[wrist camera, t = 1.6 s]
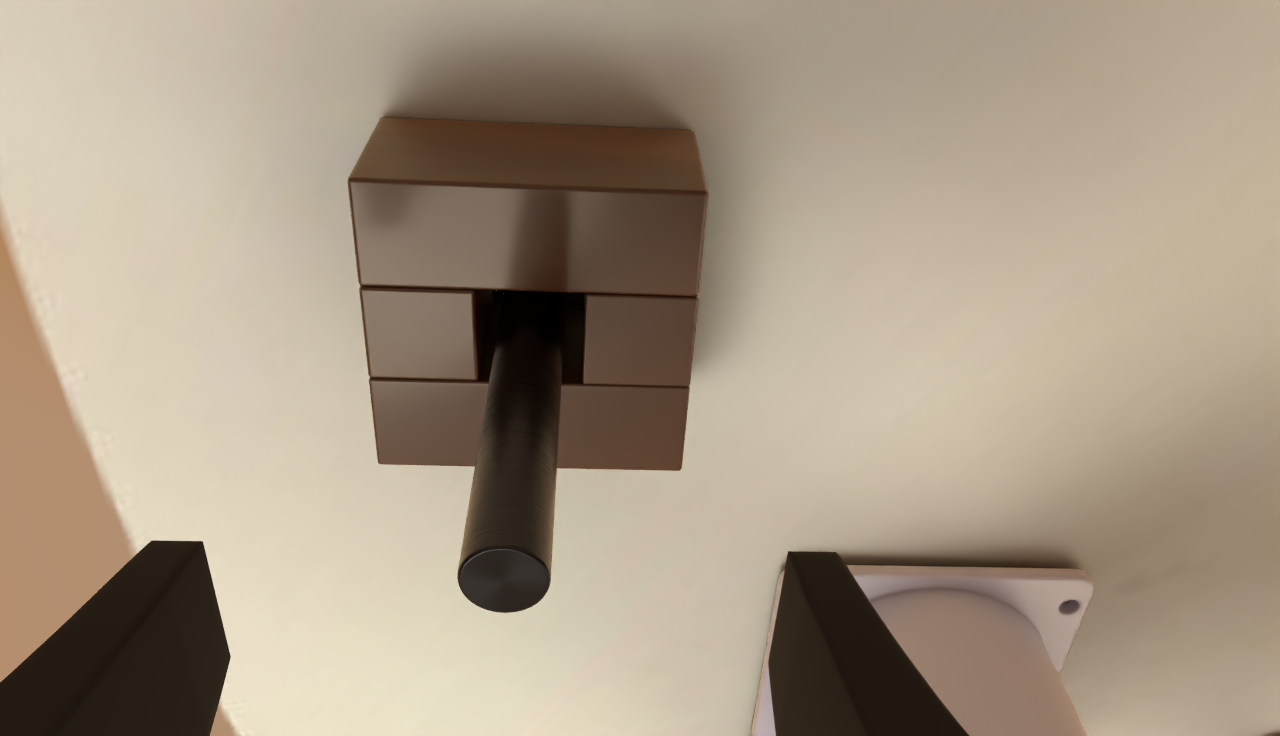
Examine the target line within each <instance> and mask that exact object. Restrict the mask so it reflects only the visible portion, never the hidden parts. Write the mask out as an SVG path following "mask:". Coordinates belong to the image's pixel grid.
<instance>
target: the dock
mask: <svg viewBox="0 0 1280 736" xmlns="http://www.w3.org/2000/svg"><path fill="white" fill-rule="evenodd" d="M348 189H349V199H350V208H351V217H352V226H353V235H354V245H355V254H356V263H357V272H358V281H359V283H360V285H361V286H360V289H359V291H360V300H361V309H362V319H363V328H364V337H365V346H366V355H367V364H368V374H369V376H370V379H369V384H370V394H371V403H372V412H373V421H374V430H375V439H376V449H377V458H378V463H379V464H393V465H440V466H475V465H476V458H477V452H478V446H479V440H480V434H481V428H482V422H483V416H484V410H485V404H486V398H487V391H488V385H489V379H490V373H491V367H492V361H493V355H494V349H495V343H496V337H497V330H498V324H499V318H500V312H501V306H502V303H492V301H493V299H492V290H512V291H544V292H575V293H585V297H584V306H568V305H566V313H565V331H564V348H563V366H562V384H561V402H560V420H559V438H558V455H557V468H579V469H625V470H671V471H679V470H681V468H682V461H683V451H684V440H685V430H686V420H687V410H688V400H689V389H690V388H689V385H690V380H691V370H692V360H693V349H694V339H695V329H696V319H697V309H698V293H699V286H700V276H701V266H702V256H703V245H704V235H705V225H706V215H707V205H708V190H707V186H706V181H705V177H704V172H703V168H702V164H701V159H700V155H699V150H698V146H697V141H696V137H695V133H694V131H692V130H677V129H652V128H628V127H604V126H580V125H555V124H531V123H507V122H483V121H459V120H434V119H410V118H386V117H383V118H380V120H379V122H378V124H377V126H376V128H375V130H374V131H373V133H372V135H371V137H370V139H369V141H368V143H367V144H366V146H365V148H364V150H363V152H362V154H361V156H360V158H359V159H358V161H357V163H356V165H355V167H354V169H353V171H352V173H351V174H350V176H349V178H348Z"/></svg>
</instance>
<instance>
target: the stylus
mask: <svg viewBox="0 0 1280 736" xmlns="http://www.w3.org/2000/svg"><path fill="white" fill-rule="evenodd" d="M566 295H567V292H544V291H512V290H504V294H503V300H502V306H501V312H500V318H499V324H498V330H497V337H496V343H495V349H494V355H493V361H492V367H491V373H490V379H489V385H488V391H487V398H486V404H485V410H484V416H483V422H482V428H481V434H480V440H479V446H478V452H477V458H476V465H475V471H474V477H473V483H472V489H471V495H470V501H469V507H468V513H467V519H466V526H465V532H464V538H463V544H462V550H461V556H460V562H459V568H458V577H457V578H458V583H459V586H460V589H461V591H462V592H463V594H464V595H465V596H466V597H467V598H468V599H469V600H470V601H471V602H472V603H474V604H475V605H477V606H479V607H481V608H483V609H486V610H490V611H494V612H503V613H508V612H517V611H521V610H525V609H527V608H530V607H532V606H533V605H535V604H536V603H538V602H539V601H540V600H541V599H542V598H543V597H544V595H545V594H546V593H547V591H548V589H549V586H550V580H551V562H552V544H553V527H554V509H555V491H556V473H557V455H558V438H559V420H560V402H561V384H562V366H563V348H564V331H565V313H566Z"/></svg>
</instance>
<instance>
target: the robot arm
mask: <svg viewBox="0 0 1280 736" xmlns="http://www.w3.org/2000/svg"><path fill="white" fill-rule="evenodd" d="M1093 591H1094V585H1093V583H1092V581H1091V579H1090V578H1089V576H1088V574H1087V573H1086V572H1084V571H1083V570H1080V569H1062V568H1001V567H940V566H878V565H846V564H845V562H844V560H843V559H842V558H841V557H840V556H839V555H838V554H837V553H836V552H789V551H788V555H787V561H786V566H785V570H784V571H782V572H781V574H780V576H779V578H778V583H777V589H776V594H775V600H774V606H773V611H772V617H771V623H770V628H769V634H768V639H767V645H766V651H765V656H764V662H763V668H762V673H761V679H760V685H759V690H758V696H757V701H756V707H755V713H754V718H753V724H752V730H751V735H750V736H1087V734H1086V732H1085V729H1084V727H1083V725H1082V723H1081V721H1080V719H1079V717H1078V715H1077V713H1076V711H1075V708H1074V706H1073V704H1072V702H1071V700H1070V698H1069V696H1068V694H1067V692H1066V689H1065V687H1064V685H1063V683H1062V681H1061V679H1060V677H1059V673H1060V671H1061V669H1062V666H1063V664H1064V661H1065V659H1066V657H1067V654H1068V652H1069V649H1070V647H1071V645H1072V642H1073V640H1074V637H1075V635H1076V632H1077V630H1078V628H1079V625H1080V623H1081V620H1082V618H1083V616H1084V613H1085V611H1086V608H1087V606H1088V604H1089V601H1090V599H1091V596H1092V594H1093ZM1067 600H1069V601H1067ZM1065 601H1067V602H1065ZM1063 602H1064V603H1063ZM229 661H230V653H229V648H228V644H227V640H226V636H225V632H224V628H223V624H222V619H221V615H220V611H219V607H218V603H217V599H216V595H215V590H214V586H213V582H212V578H211V574H210V570H209V566H208V561H207V557H206V553H205V549H204V545H203V541H151V542H150V543H148V544H147V545H146V546H145V547H144V548H143V549H142V550H141V551H140V552H139V553H138V554H136V555H135V556H134V557H133V558H132V559H131V560H130V561H129V562H128V563H127V564H126V565H125V566H124V567H123V568H122V569H121V570H120V571H119V572H118V573H116V574H115V575H114V577H112V578H111V579H110V580H109V581H108V582H107V583H106V584H105V585H104V586H103V587H102V588H101V589H100V590H99V591H98V592H97V593H96V594H95V595H94V596H93V597H92V598H91V599H90V600H89V601H87V602H86V603H85V604H84V605H83V606H82V607H81V608H80V609H79V610H78V611H77V612H76V613H75V614H74V615H73V616H72V617H71V618H70V619H69V620H68V621H67V622H66V623H64V624H63V625H62V626H61V627H60V628H59V629H58V630H57V631H56V632H55V633H54V634H53V635H52V636H51V637H49V639H47V640H46V641H45V642H44V643H43V644H42V645H41V646H40V647H39V648H38V649H36V651H34V652H33V653H32V654H31V655H30V656H29V657H28V658H27V659H26V660H25V661H23V662H22V663H21V664H20V665H19V666H18V667H17V668H16V669H15V670H14V671H13V672H12V673H10V674H9V675H8V676H7V677H6V678H5V679H4V680H3V681H2V682H0V736H210V732H211V728H212V725H213V721H214V718H215V714H216V711H217V707H218V704H219V700H220V696H221V692H222V688H223V685H224V681H225V677H226V673H227V669H228V665H229Z"/></svg>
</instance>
